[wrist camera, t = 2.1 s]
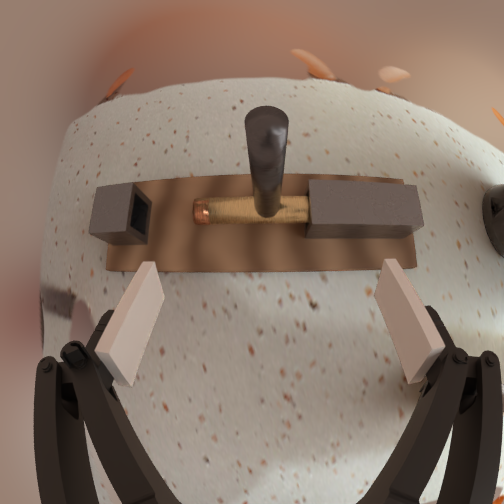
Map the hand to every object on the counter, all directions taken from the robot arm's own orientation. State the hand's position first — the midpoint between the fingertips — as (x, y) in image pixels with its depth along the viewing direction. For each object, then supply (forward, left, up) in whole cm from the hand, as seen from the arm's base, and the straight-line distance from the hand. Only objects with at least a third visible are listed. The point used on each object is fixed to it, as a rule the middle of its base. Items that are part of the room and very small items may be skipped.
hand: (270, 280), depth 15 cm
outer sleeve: (-16, -3, -20) cm, 26 cm away
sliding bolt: (-9, -7, -18) cm, 22 cm away
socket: (+12, -19, -20) cm, 30 cm away
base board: (-4, -10, -22) cm, 24 cm away
